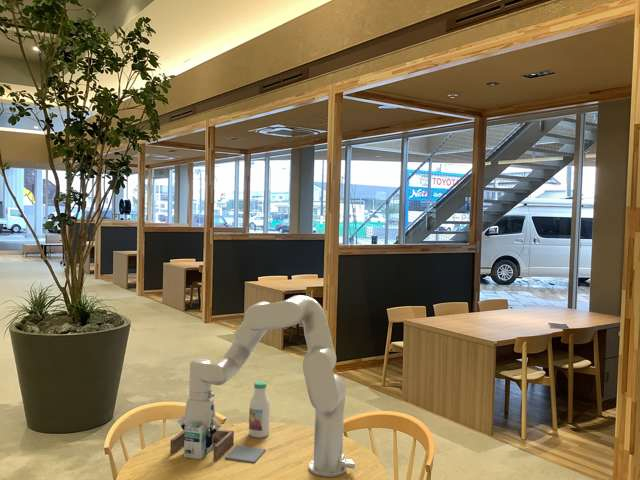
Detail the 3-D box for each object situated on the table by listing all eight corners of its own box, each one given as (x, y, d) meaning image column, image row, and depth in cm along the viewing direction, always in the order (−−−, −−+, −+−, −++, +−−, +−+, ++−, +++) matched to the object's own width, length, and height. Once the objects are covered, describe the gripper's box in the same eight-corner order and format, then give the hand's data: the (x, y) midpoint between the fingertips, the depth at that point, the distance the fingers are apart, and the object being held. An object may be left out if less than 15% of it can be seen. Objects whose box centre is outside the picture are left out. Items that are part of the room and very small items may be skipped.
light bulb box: (201, 459, 200) (202, 428, 199) (182, 457, 201) (183, 426, 200) (213, 447, 210) (214, 418, 209) (196, 445, 211) (196, 416, 211)
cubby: (233, 444, 213) (233, 431, 213) (216, 461, 199) (217, 446, 199) (189, 438, 218) (190, 425, 217) (170, 454, 203) (170, 440, 203)
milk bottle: (261, 429, 229) (263, 378, 228) (273, 435, 223) (274, 383, 222) (244, 433, 224) (246, 381, 223) (256, 439, 218) (257, 387, 218)
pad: (265, 450, 209) (265, 448, 209) (254, 463, 198) (254, 461, 198) (236, 446, 212) (236, 444, 212) (224, 458, 201) (224, 457, 201)
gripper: (227, 394, 206) (226, 444, 207) (182, 389, 210) (181, 437, 211) (218, 401, 199) (217, 452, 199) (172, 395, 203) (171, 445, 204)
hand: (198, 444), depth 205 cm, fingers closed on light bulb box, 6 cm apart
